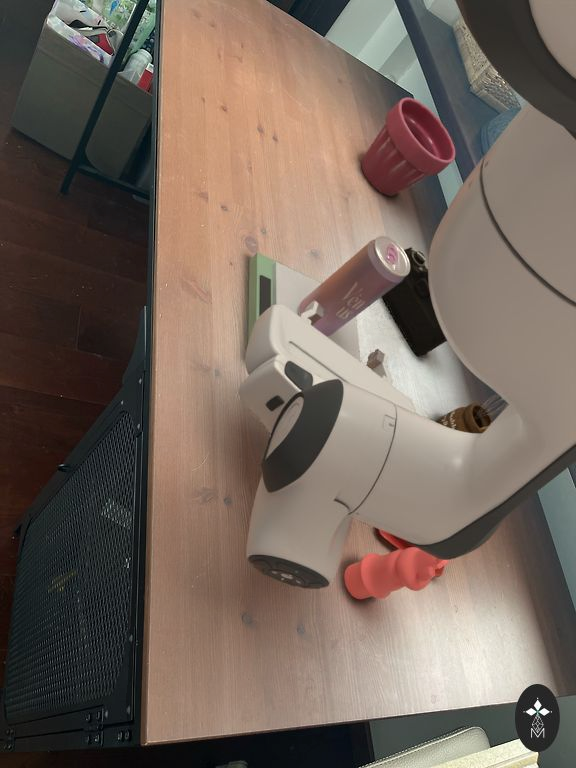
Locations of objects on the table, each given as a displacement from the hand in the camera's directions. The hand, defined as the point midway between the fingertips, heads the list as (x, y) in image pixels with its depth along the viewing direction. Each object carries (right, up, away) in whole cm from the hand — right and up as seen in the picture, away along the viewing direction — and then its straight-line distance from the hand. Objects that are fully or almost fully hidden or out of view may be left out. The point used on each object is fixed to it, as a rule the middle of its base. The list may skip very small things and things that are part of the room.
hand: (347, 331), depth 69 cm
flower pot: (+10, +33, +48) cm, 59 cm away
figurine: (+1, -29, +2) cm, 29 cm away
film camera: (+12, +6, +33) cm, 36 cm away
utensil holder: (+17, -14, +24) cm, 33 cm away
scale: (-5, +2, +15) cm, 16 cm away
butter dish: (+9, -24, +11) cm, 28 cm away
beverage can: (-3, +3, +13) cm, 14 cm away
